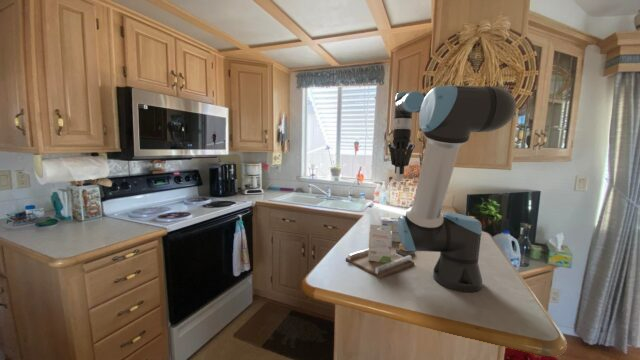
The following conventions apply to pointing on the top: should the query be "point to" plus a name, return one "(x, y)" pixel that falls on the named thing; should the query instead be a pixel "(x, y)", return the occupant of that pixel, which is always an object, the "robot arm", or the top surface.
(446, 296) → the top surface
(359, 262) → the rail board
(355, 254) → the steel rails
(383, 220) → the light bulb box
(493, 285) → the top surface
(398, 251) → the latch housing
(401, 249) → the snap latch
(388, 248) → the ink box
